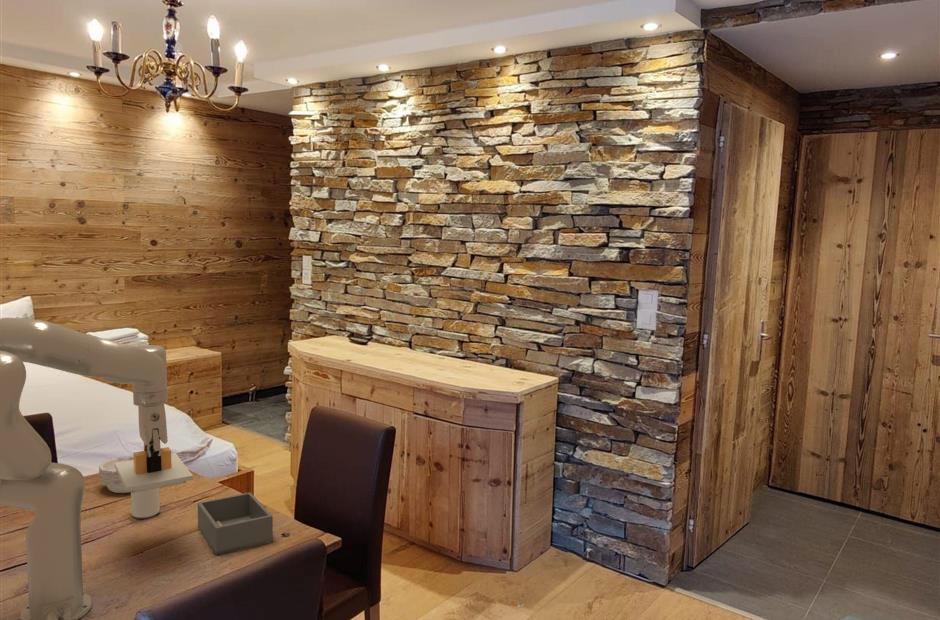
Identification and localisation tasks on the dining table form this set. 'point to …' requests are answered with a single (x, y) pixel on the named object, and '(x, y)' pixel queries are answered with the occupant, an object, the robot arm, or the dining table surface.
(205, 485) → the dining table surface
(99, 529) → the dining table surface
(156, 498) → the can
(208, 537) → the parts tub
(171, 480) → the lid
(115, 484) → the paper bowls
